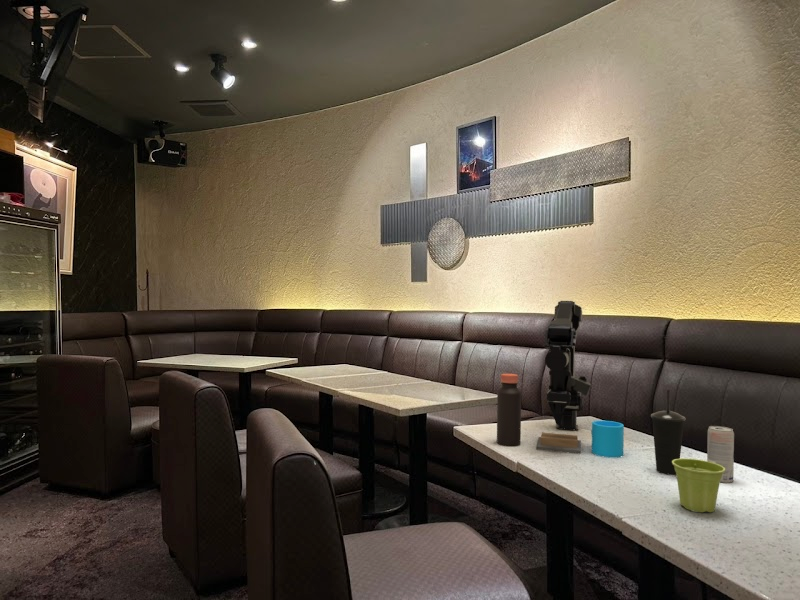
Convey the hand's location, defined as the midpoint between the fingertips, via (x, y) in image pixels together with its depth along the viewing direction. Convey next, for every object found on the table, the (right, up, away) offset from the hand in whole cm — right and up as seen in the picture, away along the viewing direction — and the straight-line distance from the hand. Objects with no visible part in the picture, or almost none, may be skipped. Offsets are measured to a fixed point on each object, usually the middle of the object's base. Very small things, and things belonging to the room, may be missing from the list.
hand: (559, 421), depth 155 cm
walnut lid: (0, -6, 0) cm, 6 cm away
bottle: (-14, -7, +3) cm, 16 cm away
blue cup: (+11, -8, -4) cm, 14 cm away
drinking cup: (+20, -8, -22) cm, 31 cm away
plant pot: (+15, -7, -46) cm, 48 cm away
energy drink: (+30, -8, -27) cm, 41 cm away
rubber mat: (0, -7, 0) cm, 7 cm away
